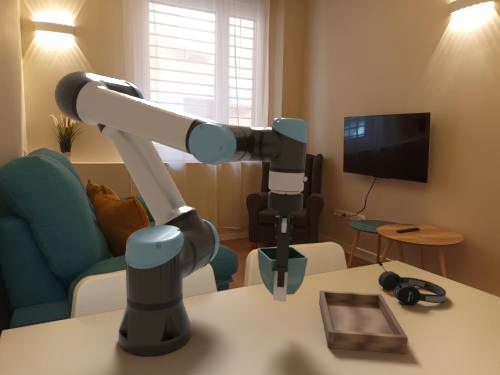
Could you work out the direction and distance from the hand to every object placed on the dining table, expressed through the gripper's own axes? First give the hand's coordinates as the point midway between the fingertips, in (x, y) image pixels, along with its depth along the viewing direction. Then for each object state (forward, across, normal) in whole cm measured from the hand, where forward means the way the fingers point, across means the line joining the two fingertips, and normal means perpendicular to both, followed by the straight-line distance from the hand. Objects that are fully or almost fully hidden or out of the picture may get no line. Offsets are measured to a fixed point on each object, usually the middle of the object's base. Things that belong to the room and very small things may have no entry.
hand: (280, 290), depth 83 cm
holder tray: (+9, +6, -19) cm, 22 cm away
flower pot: (+1, 0, 0) cm, 1 cm away
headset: (+10, +26, -37) cm, 46 cm away
